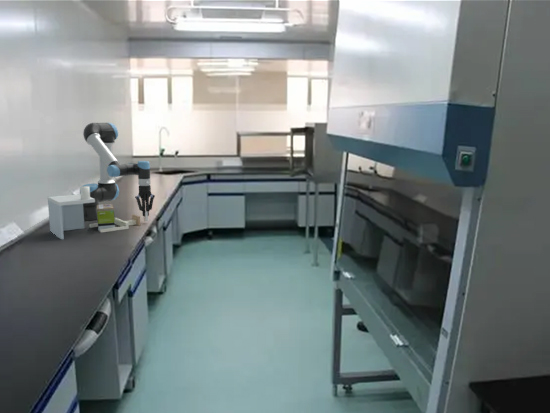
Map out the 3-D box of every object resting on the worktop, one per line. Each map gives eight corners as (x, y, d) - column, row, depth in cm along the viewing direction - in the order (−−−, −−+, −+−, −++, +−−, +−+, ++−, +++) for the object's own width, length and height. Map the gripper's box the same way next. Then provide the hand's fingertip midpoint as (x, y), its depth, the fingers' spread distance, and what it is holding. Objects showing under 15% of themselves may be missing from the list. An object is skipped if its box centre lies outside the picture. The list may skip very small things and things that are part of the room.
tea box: (97, 227, 321) (96, 204, 319) (114, 226, 325) (112, 203, 322) (98, 232, 307) (96, 208, 305) (115, 231, 311) (114, 207, 308)
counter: (50, 232, 307) (47, 196, 303) (83, 227, 319) (81, 193, 315) (61, 239, 288) (59, 202, 285) (96, 234, 301) (94, 198, 297)
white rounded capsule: (79, 198, 298) (78, 186, 297) (88, 197, 301) (87, 185, 300) (82, 199, 294) (81, 187, 293) (91, 198, 297) (90, 186, 296)
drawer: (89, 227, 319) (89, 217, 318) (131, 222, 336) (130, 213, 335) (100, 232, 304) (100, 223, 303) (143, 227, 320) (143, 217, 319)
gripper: (137, 186, 321) (138, 223, 325) (156, 184, 328) (157, 220, 332) (132, 185, 326) (134, 221, 330) (151, 183, 334) (152, 218, 338)
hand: (146, 220), depth 331 cm, fingers closed
